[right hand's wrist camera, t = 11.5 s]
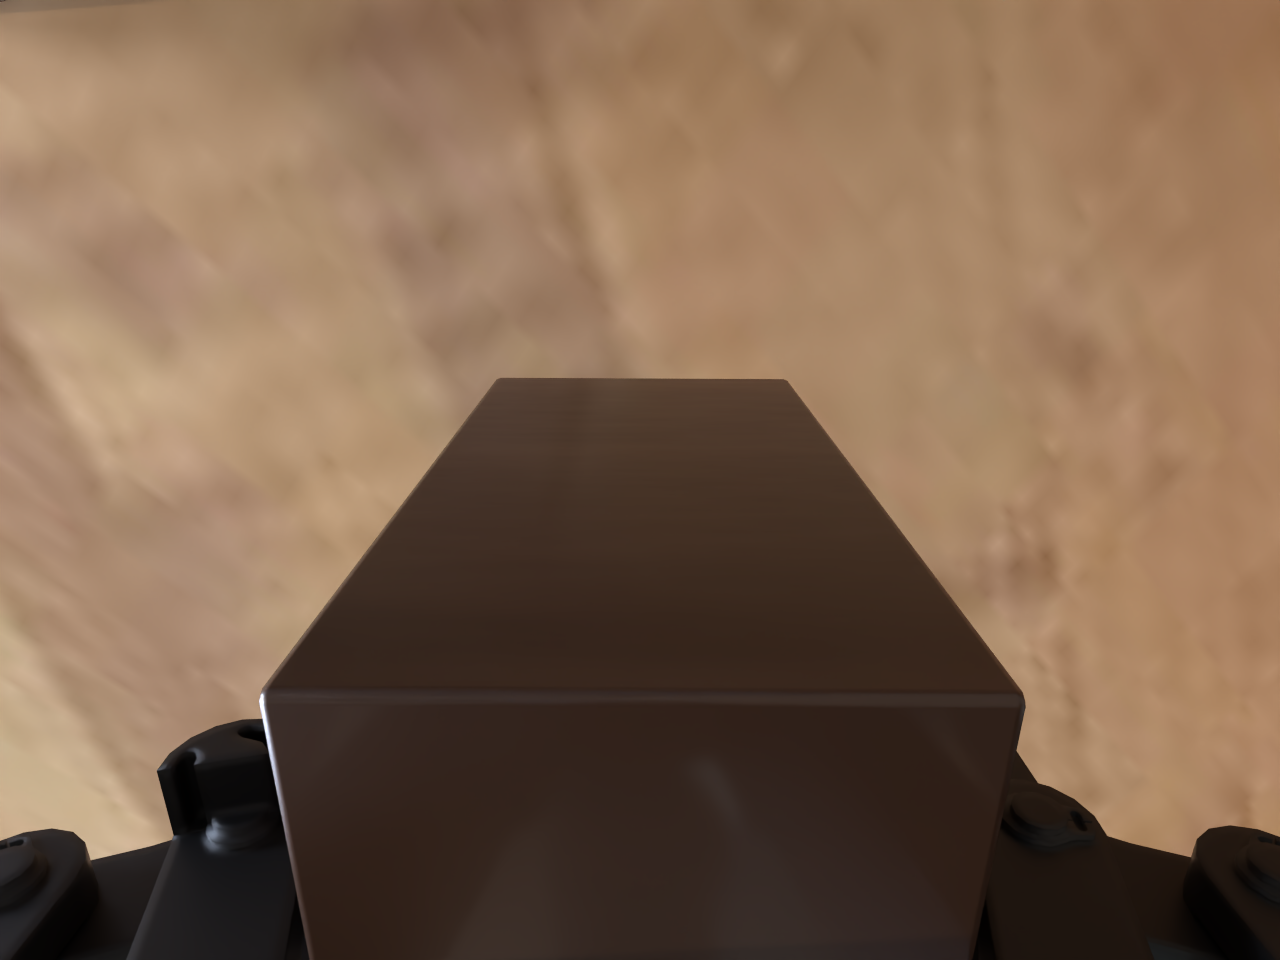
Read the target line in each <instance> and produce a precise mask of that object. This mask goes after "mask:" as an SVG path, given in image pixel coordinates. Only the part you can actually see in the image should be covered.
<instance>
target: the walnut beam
mask: <svg viewBox="0 0 1280 960" xmlns="http://www.w3.org/2000/svg"><path fill="white" fill-rule="evenodd" d="M259 703H260V708H261V713H262V718H263V724H264V729H265V734H266V739H267V744H268V749H269V754H270V759H271V764H272V770H273V775H274V780H275V785H276V790H277V795H278V800H279V805H280V811H281V816H282V821H283V826H284V831H285V836H286V841H287V846H288V851H289V857H290V862H291V867H292V872H293V877H294V882H295V887H296V892H297V897H298V903H299V908H300V913H301V918H302V923H303V928H304V933H305V938H306V943H307V949H308V954H309V959H310V960H972V959H973V955H974V950H975V945H976V940H977V936H978V931H979V926H980V921H981V917H982V912H983V907H984V902H985V897H986V893H987V888H988V883H989V878H990V874H991V869H992V864H993V859H994V855H995V850H996V845H997V840H998V835H999V831H1000V826H1001V821H1002V816H1003V812H1004V807H1005V802H1006V797H1007V793H1008V788H1009V783H1010V778H1011V773H1012V769H1013V764H1014V759H1015V754H1016V750H1017V745H1018V740H1019V735H1020V731H1021V726H1022V721H1023V716H1024V711H1025V699H1024V695H1023V692H1022V691H1021V690H1020V688H1019V687H1018V686H1017V684H1016V683H1015V682H1014V680H1013V679H1012V678H1011V676H1010V675H1009V674H1008V672H1007V671H1006V670H1005V668H1004V667H1003V666H1002V664H1001V663H1000V662H999V661H998V659H997V658H996V657H995V655H994V654H993V653H992V651H991V650H990V649H989V647H988V646H987V645H986V643H985V642H984V641H983V639H982V638H981V637H980V635H979V634H978V633H977V631H976V630H975V629H974V627H973V626H972V625H971V623H970V622H969V621H968V619H967V618H966V617H965V616H964V614H963V613H962V612H961V610H960V609H959V608H958V606H957V605H956V604H955V602H954V601H953V600H952V598H951V597H950V596H949V594H948V593H947V592H946V590H945V589H944V588H943V586H942V585H941V584H940V582H939V581H938V580H937V578H936V577H935V576H934V574H933V573H932V572H931V571H930V569H929V568H928V567H927V565H926V564H925V563H924V561H923V560H922V559H921V557H920V556H919V555H918V553H917V552H916V551H915V549H914V548H913V547H912V545H911V544H910V543H909V541H908V540H907V539H906V537H905V536H904V535H903V533H902V532H901V531H900V530H899V528H898V527H897V526H896V524H895V523H894V522H893V520H892V519H891V518H890V516H889V515H888V514H887V512H886V511H885V510H884V508H883V507H882V506H881V504H880V503H879V502H878V500H877V499H876V498H875V496H874V495H873V494H872V492H871V491H870V490H869V488H868V487H867V486H866V485H865V483H864V482H863V481H862V479H861V478H860V477H859V475H858V474H857V473H856V471H855V470H854V469H853V467H852V466H851V465H850V463H849V462H848V461H847V459H846V458H845V457H844V455H843V454H842V453H841V451H840V450H839V449H838V447H837V446H836V445H835V443H834V442H833V441H832V440H831V438H830V437H829V436H828V434H827V433H826V432H825V430H824V429H823V428H822V426H821V425H820V424H819V422H818V421H817V420H816V418H815V417H814V416H813V414H812V413H811V412H810V410H809V409H808V408H807V406H806V405H805V404H804V402H803V401H802V400H801V398H800V397H799V396H798V395H797V393H796V392H795V391H794V389H793V388H792V387H791V385H790V384H789V383H788V381H786V380H784V379H606V378H499V379H497V380H496V381H495V383H494V384H493V385H492V386H491V388H490V389H489V390H488V392H487V393H486V394H485V396H484V397H483V398H482V400H481V401H480V402H479V404H478V405H477V406H476V408H475V409H474V410H473V412H472V413H471V414H470V415H469V417H468V418H467V419H466V421H465V422H464V423H463V425H462V426H461V427H460V429H459V430H458V431H457V433H456V434H455V435H454V437H453V438H452V439H451V441H450V442H449V443H448V444H447V446H446V447H445V448H444V450H443V451H442V452H441V454H440V455H439V456H438V458H437V459H436V460H435V462H434V463H433V464H432V466H431V467H430V468H429V470H428V471H427V472H426V473H425V475H424V476H423V477H422V479H421V480H420V481H419V483H418V484H417V485H416V487H415V488H414V489H413V491H412V492H411V493H410V495H409V496H408V497H407V499H406V500H405V501H404V502H403V504H402V505H401V506H400V508H399V509H398V510H397V512H396V513H395V514H394V516H393V517H392V518H391V520H390V521H389V522H388V524H387V525H386V526H385V528H384V529H383V530H382V531H381V533H380V534H379V535H378V537H377V538H376V539H375V541H374V542H373V543H372V545H371V546H370V547H369V549H368V550H367V551H366V553H365V554H364V555H363V557H362V558H361V559H360V560H359V562H358V563H357V564H356V566H355V567H354V568H353V570H352V571H351V572H350V574H349V575H348V576H347V578H346V579H345V580H344V582H343V583H342V584H341V586H340V587H339V588H338V589H337V591H336V592H335V593H334V595H333V596H332V597H331V599H330V600H329V601H328V603H327V604H326V605H325V607H324V608H323V609H322V611H321V612H320V613H319V615H318V616H317V617H316V618H315V620H314V621H313V622H312V624H311V625H310V626H309V628H308V629H307V630H306V632H305V633H304V634H303V636H302V637H301V638H300V640H299V641H298V642H297V644H296V645H295V646H294V647H293V649H292V650H291V651H290V653H289V654H288V655H287V657H286V658H285V659H284V661H283V662H282V663H281V665H280V666H279V667H278V669H277V670H276V671H275V673H274V674H273V675H272V676H271V678H270V679H269V680H268V682H267V683H266V684H265V686H264V687H263V688H262V691H261V695H260V702H259Z"/></svg>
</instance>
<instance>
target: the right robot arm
mask: <svg viewBox="0 0 1280 960" xmlns="http://www.w3.org/2000/svg"><path fill="white" fill-rule="evenodd" d="M2 1H5V0H0V2H2ZM157 773H158V777H159V781H160V785H161V789H162V792H163V796H164V800H165V804H166V808H167V811H168V815H169V819H170V823H171V827H172V830H173V834H174V836H173V839H172V840H170V841H167V842H164V843H160V844H157V845H154V846H150V847H146V848H142V849H138V850H133V851H129V852H125V853H121V854H116V855H112V856H108V857H104V858H99V859H95V860H90V857H89V854H88V851H87V847H86V844H85V842H84V841H83V840H82V839H80V838H79V837H78V836H77V835H76V834H75V833H74V832H70V831H64V830H57V829H46V830H39V831H32V832H25V833H21V834H19V835H16V836H13V837H10V838H7V839H4V840H1V841H0V960H310V959H309V954H308V949H307V943H306V938H305V933H304V928H303V923H302V918H301V913H300V908H299V903H298V897H297V892H296V887H295V882H294V877H293V872H292V867H291V862H290V857H289V851H288V846H287V841H286V836H285V831H284V826H283V821H282V816H281V811H280V805H279V800H278V795H277V790H276V785H275V780H274V775H273V770H272V764H271V759H270V754H269V749H268V744H267V739H266V734H265V729H264V724H263V719H246V720H239V721H235V722H231V723H227V724H223V725H219V726H215V727H213V728H211V729H209V730H207V731H205V732H202V733H200V734H198V735H196V736H194V737H192V738H190V739H189V740H187V741H186V742H184V743H183V744H182V745H180V746H179V747H178V748H176V749H175V750H174V751H172V752H171V753H170V754H169V755H168V756H167V758H166V759H165V760H164V762H163V763H162V764H161V766H160V767H159V769H158V770H157ZM972 960H1280V837H1278V836H1275V835H1273V834H1270V833H1267V832H1264V831H1261V830H1258V829H1252V828H1245V827H1237V826H1223V827H1217V828H1211V829H1208V830H1207V831H1206V832H1205V833H1203V834H1202V835H1201V836H1200V837H1199V838H1198V839H1197V841H1196V844H1195V847H1194V850H1193V853H1192V856H1191V857H1187V856H1182V855H1178V854H1174V853H1170V852H1165V851H1161V850H1157V849H1153V848H1148V847H1144V846H1140V845H1136V844H1131V843H1128V842H1125V841H1121V840H1118V839H1115V838H1112V837H1108V836H1107V835H1106V833H1105V832H1104V830H1103V829H1102V827H1101V826H1100V824H1099V822H1098V821H1097V819H1096V818H1095V816H1094V815H1093V814H1091V813H1090V812H1089V811H1088V810H1087V809H1085V808H1084V807H1083V806H1082V805H1081V804H1079V803H1078V802H1077V801H1076V800H1075V799H1073V798H1071V797H1069V796H1067V795H1065V794H1063V793H1061V792H1059V791H1057V790H1055V789H1054V788H1052V787H1049V786H1046V785H1042V784H1038V783H1037V781H1036V780H1035V778H1034V777H1033V775H1032V774H1031V772H1030V771H1029V769H1028V768H1027V766H1026V765H1025V763H1024V762H1023V760H1022V759H1021V757H1020V756H1019V754H1018V753H1017V751H1016V754H1015V759H1014V764H1013V769H1012V773H1011V778H1010V783H1009V788H1008V793H1007V797H1006V802H1005V807H1004V812H1003V816H1002V821H1001V826H1000V831H999V835H998V840H997V845H996V850H995V855H994V859H993V864H992V869H991V874H990V878H989V883H988V888H987V893H986V897H985V902H984V907H983V912H982V917H981V921H980V926H979V931H978V936H977V940H976V945H975V950H974V955H973V959H972Z"/></svg>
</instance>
